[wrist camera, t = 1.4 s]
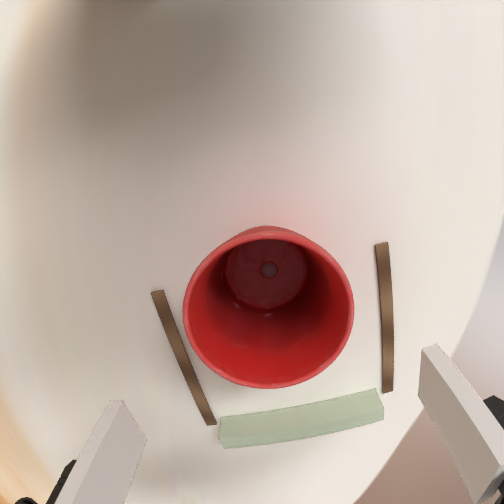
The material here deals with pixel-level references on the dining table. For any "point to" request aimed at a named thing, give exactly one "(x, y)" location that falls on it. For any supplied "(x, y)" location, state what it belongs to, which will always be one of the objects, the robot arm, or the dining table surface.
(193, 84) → the dining table surface
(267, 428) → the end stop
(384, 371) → the guide strips
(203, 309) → the flower pot
